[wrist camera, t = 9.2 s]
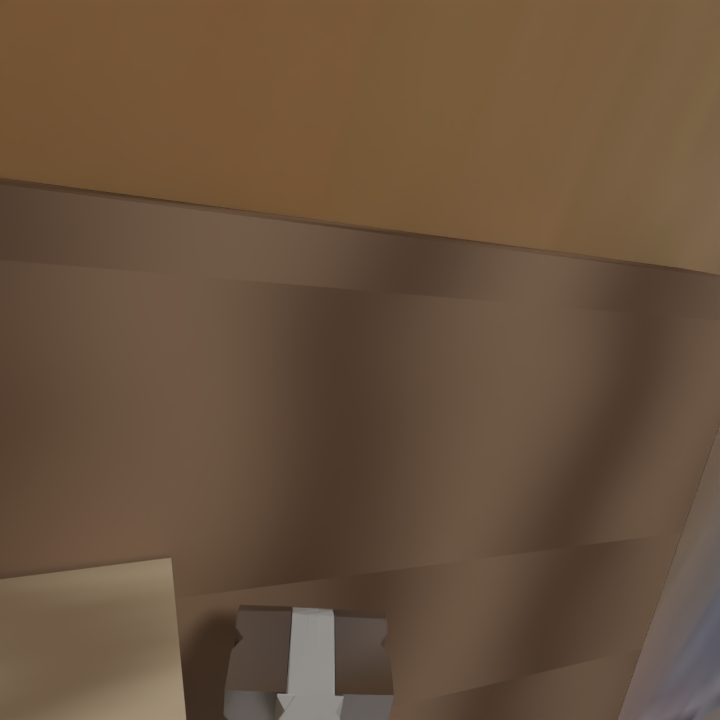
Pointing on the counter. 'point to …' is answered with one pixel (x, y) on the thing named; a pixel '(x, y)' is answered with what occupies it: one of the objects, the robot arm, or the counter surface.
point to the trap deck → (356, 436)
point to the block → (91, 645)
